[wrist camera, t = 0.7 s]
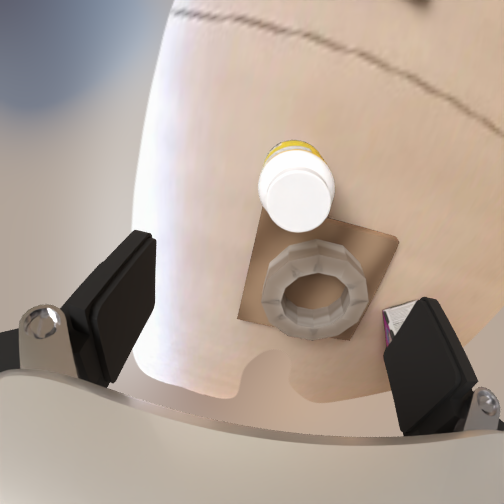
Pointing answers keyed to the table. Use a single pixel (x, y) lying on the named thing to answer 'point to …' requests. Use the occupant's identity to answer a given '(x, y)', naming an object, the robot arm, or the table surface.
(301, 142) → the supplement bottle
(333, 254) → the hub block
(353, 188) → the table surface
